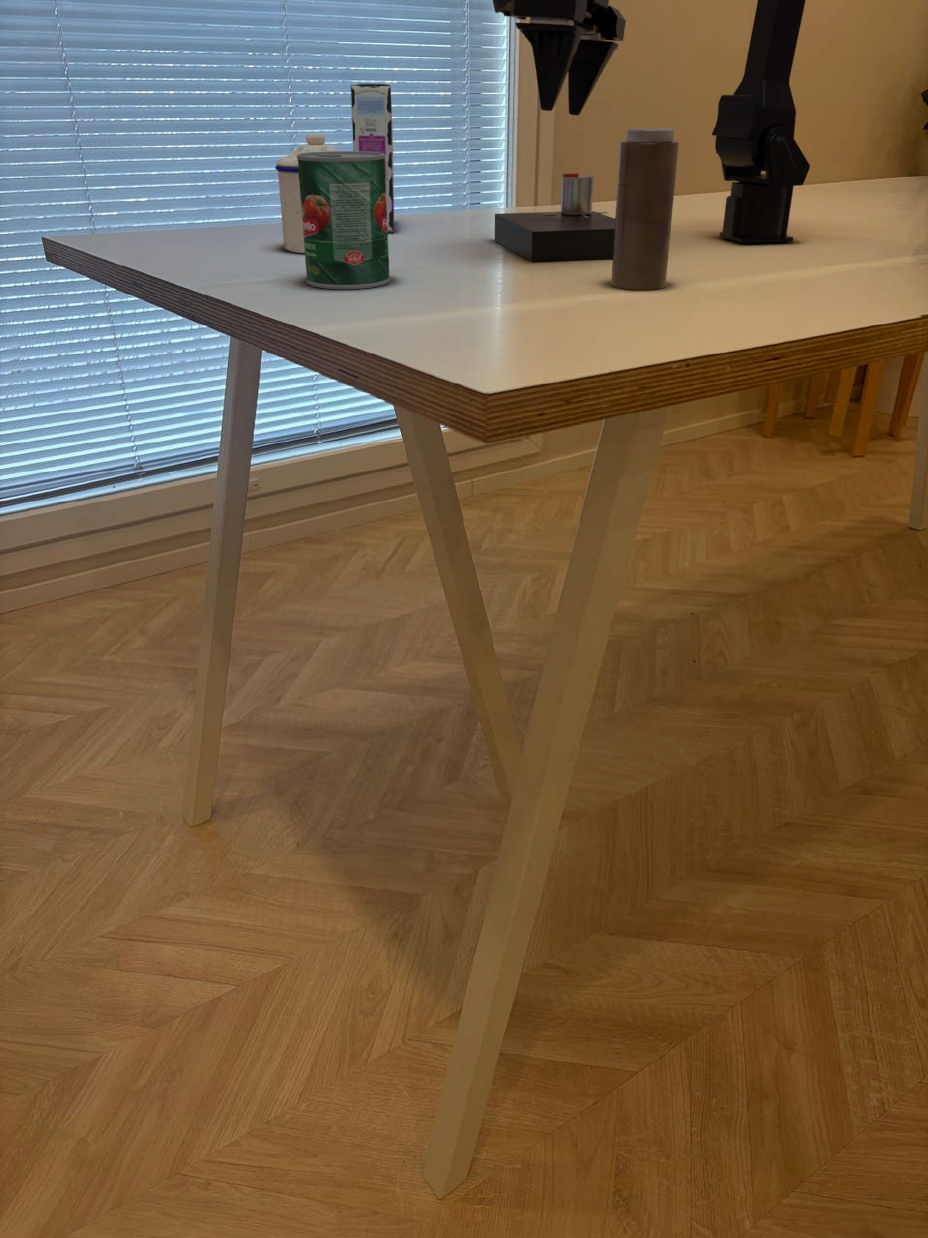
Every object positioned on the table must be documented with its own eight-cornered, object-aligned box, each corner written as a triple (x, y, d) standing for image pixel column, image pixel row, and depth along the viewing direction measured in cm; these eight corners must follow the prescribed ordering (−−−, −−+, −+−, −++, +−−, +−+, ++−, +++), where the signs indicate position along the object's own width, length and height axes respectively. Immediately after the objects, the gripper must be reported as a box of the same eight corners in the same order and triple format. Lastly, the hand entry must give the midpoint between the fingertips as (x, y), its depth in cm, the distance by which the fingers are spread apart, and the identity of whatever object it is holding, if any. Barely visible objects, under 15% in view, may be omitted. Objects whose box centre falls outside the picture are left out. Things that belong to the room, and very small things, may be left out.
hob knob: (586, 211, 117) (588, 171, 115) (596, 215, 114) (598, 174, 112) (556, 212, 116) (558, 172, 114) (566, 215, 113) (567, 174, 111)
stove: (595, 235, 121) (597, 207, 119) (647, 257, 106) (650, 225, 105) (492, 239, 118) (492, 211, 117) (531, 261, 104) (532, 229, 102)
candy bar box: (396, 233, 123) (391, 83, 115) (356, 233, 123) (348, 83, 115) (394, 221, 133) (389, 82, 125) (357, 222, 133) (350, 83, 125)
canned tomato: (407, 281, 94) (403, 153, 89) (341, 292, 89) (333, 157, 84) (354, 271, 99) (348, 149, 94) (289, 281, 94) (278, 153, 89)
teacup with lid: (357, 254, 108) (350, 136, 103) (274, 254, 109) (263, 136, 103) (371, 239, 119) (366, 130, 113) (296, 238, 119) (287, 130, 114)
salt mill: (653, 279, 95) (666, 127, 88) (674, 288, 90) (689, 129, 84) (603, 281, 94) (612, 127, 87) (622, 291, 89) (633, 130, 83)
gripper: (533, -56, 104) (518, 110, 111) (465, -96, 89) (451, 101, 95) (636, -53, 101) (613, 119, 108) (584, -94, 85) (561, 110, 92)
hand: (560, 112), depth 101 cm, fingers open, 9 cm apart
